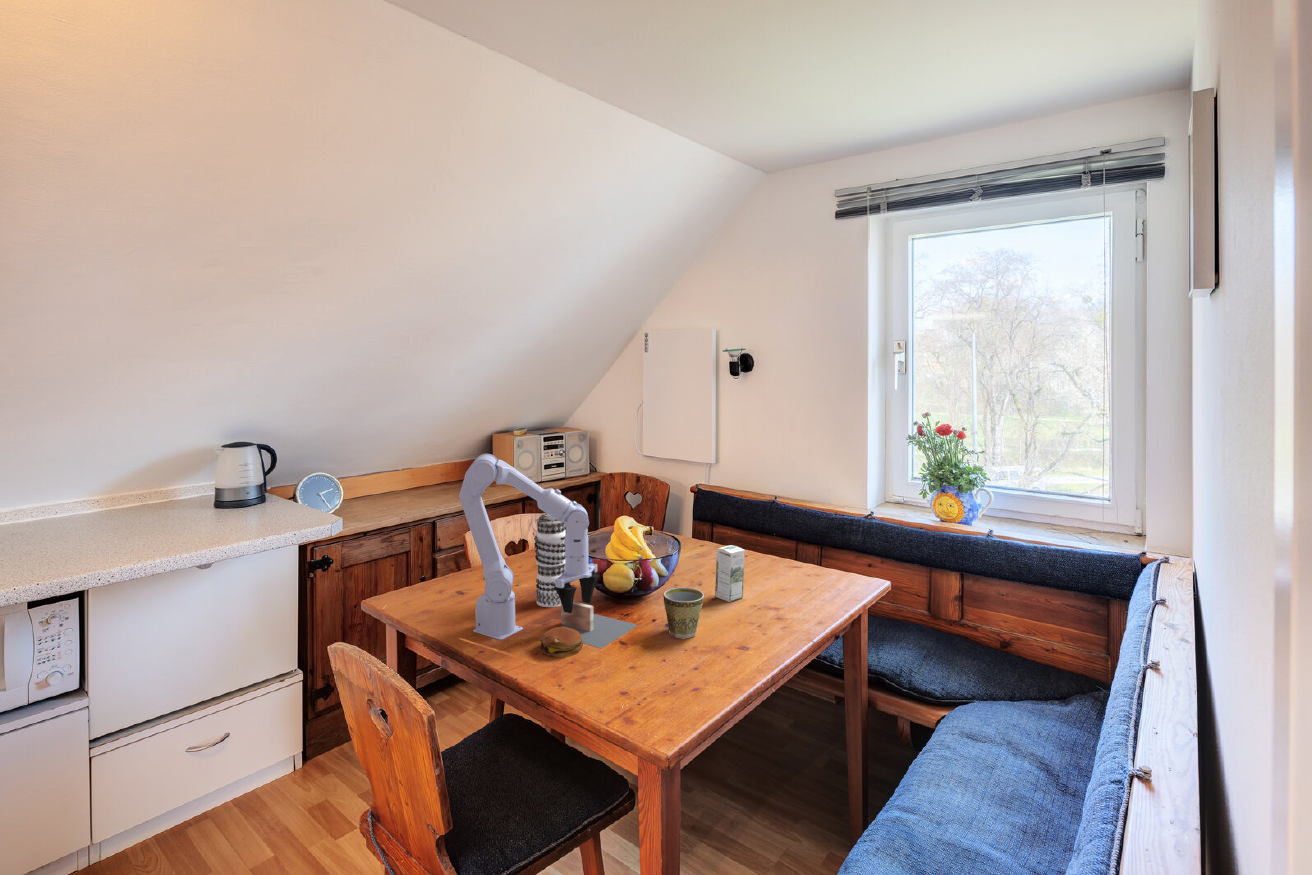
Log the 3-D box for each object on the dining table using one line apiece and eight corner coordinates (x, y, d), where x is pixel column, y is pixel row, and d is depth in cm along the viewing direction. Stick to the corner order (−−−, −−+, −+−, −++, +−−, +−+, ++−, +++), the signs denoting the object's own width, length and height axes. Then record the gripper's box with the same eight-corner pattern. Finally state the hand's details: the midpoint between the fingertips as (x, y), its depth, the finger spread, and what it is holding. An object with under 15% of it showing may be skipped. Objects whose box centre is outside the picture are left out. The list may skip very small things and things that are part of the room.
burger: (579, 640, 161) (579, 621, 161) (585, 657, 152) (585, 637, 152) (538, 644, 159) (537, 625, 158) (541, 662, 150) (541, 642, 149)
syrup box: (728, 592, 194) (729, 544, 192) (743, 598, 190) (745, 548, 188) (714, 596, 190) (715, 547, 189) (729, 602, 186) (731, 552, 184)
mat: (548, 634, 164) (548, 633, 164) (587, 613, 177) (587, 611, 177) (601, 650, 156) (601, 648, 156) (638, 626, 169) (638, 624, 169)
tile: (561, 623, 170) (560, 601, 169) (565, 621, 171) (564, 599, 170) (589, 631, 165) (589, 608, 164) (593, 629, 166) (593, 606, 166)
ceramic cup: (700, 643, 160) (700, 603, 159) (659, 639, 162) (659, 599, 160) (706, 622, 172) (707, 585, 171) (668, 618, 174) (669, 582, 173)
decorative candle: (557, 594, 191) (556, 508, 188) (574, 603, 184) (574, 515, 181) (528, 601, 186) (527, 513, 182) (545, 611, 178) (545, 520, 175)
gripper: (571, 564, 157) (572, 620, 159) (606, 549, 170) (607, 601, 171) (548, 560, 161) (549, 614, 163) (584, 545, 173) (585, 595, 175)
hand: (577, 607), depth 167 cm, fingers open, 7 cm apart
